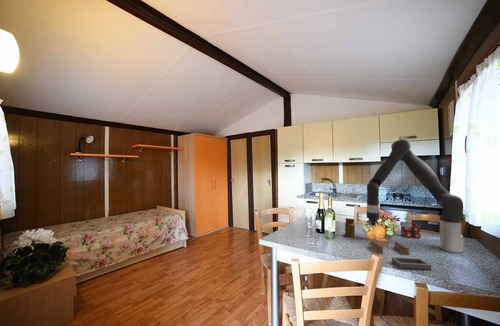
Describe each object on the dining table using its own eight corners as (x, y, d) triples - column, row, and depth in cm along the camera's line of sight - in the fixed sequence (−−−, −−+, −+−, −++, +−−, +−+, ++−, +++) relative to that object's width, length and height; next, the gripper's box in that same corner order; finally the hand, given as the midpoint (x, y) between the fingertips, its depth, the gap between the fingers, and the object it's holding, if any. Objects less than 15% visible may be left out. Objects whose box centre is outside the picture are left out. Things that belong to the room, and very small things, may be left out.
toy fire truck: (423, 239, 140) (423, 224, 140) (403, 237, 143) (403, 223, 143) (418, 236, 147) (417, 221, 147) (398, 234, 150) (398, 220, 150)
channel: (397, 247, 125) (397, 241, 125) (408, 254, 115) (408, 247, 115) (370, 246, 126) (370, 240, 126) (379, 253, 116) (379, 246, 117)
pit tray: (420, 263, 105) (420, 258, 105) (431, 270, 98) (431, 265, 98) (391, 262, 106) (391, 257, 106) (400, 268, 99) (400, 263, 99)
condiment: (357, 237, 144) (357, 220, 144) (350, 239, 140) (350, 221, 140) (347, 234, 150) (347, 217, 150) (340, 236, 146) (340, 219, 146)
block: (383, 243, 132) (383, 237, 132) (387, 247, 126) (387, 241, 126) (373, 243, 133) (373, 237, 133) (377, 246, 127) (377, 240, 127)
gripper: (384, 213, 132) (384, 240, 132) (373, 209, 146) (373, 233, 145) (371, 213, 133) (372, 240, 133) (362, 209, 146) (362, 233, 146)
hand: (373, 236), depth 139 cm, fingers closed
